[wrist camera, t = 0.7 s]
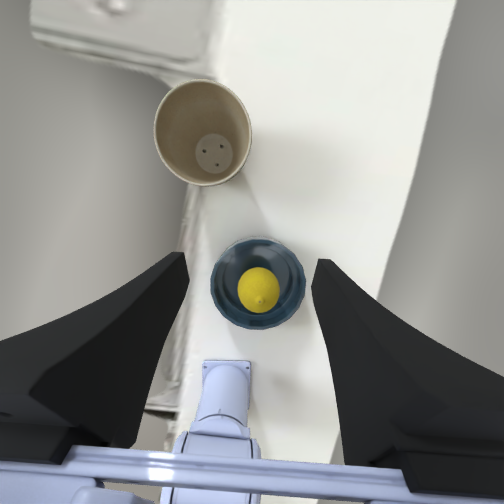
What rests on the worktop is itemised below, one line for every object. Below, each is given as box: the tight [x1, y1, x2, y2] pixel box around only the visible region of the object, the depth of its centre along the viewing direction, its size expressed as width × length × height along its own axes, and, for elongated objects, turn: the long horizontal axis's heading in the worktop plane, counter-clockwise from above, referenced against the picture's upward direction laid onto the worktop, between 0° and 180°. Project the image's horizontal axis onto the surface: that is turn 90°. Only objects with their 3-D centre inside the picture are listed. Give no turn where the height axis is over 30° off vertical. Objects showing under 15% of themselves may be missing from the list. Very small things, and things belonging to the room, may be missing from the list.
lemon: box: [238, 267, 280, 313], centre depth 27 cm, size 6×6×8 cm
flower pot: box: [154, 79, 252, 186], centre depth 24 cm, size 10×10×7 cm
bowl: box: [211, 236, 306, 330], centre depth 29 cm, size 13×13×4 cm
